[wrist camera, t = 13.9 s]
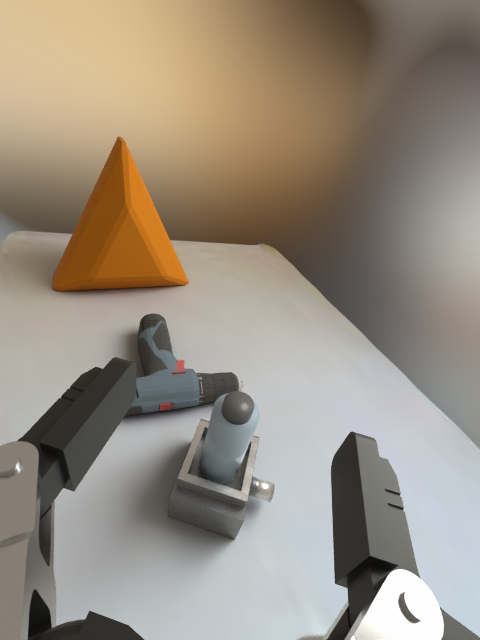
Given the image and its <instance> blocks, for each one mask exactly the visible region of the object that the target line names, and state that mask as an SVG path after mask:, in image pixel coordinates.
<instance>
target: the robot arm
mask: <svg viewBox="0 0 480 640" xmlns="http://www.w3.org/2000/svg"><path fill="white" fill-rule="evenodd" d="M135 395H136V364H135V363H133V362H129V361H126V360H123V359H120V358H117V357H115V358H113V359H112V360H111V361H110V362H109V363H108V364H107V365H106V366H105V367H104V369H101V368H98V367H95V368H93V369H91V370H89V371H88V372H86V373H84V374H82V375H81V376H80V377H79V378H78V379H77V380H76V381H75V382H74V383H73V384H72V385H71V387H70V389H68V390H67V391H66V392H65V393H64V394H63V395H62V397H61V398H59V399H58V400H57V401H56V402H55V403H54V404H53V405H52V406H51V408H50V409H49V410H48V411H47V412H46V413H45V414H44V415H43V416H42V417H41V418H40V419H39V420H38V421H37V422H36V423H35V424H34V425H33V427H32V428H31V429H30V430H29V431H28V432H27V433H26V434H25V435H24V436H23V437H22V438H20V439H19V440H18V441H16V442H11V443H7V444H4V445H2V446H0V640H144V639H143V638H142V637H141V636H140V635H138V634H137V633H136V632H135V631H134V630H133V629H132V628H131V627H130V626H129V625H126V624H123V623H121V622H118V621H115V620H113V619H110V618H107V617H105V616H102V615H99V614H97V613H94V612H91V611H89V613H88V615H87V617H86V620H76V621H71V622H67V623H64V624H61V625H58V626H56V586H55V578H54V567H53V559H54V506H55V501H54V500H55V499H56V497H57V496H58V494H59V493H60V491H61V490H62V489H63V488H66V489H69V490H72V491H75V489H76V488H77V486H78V485H79V483H80V482H81V480H82V479H83V477H84V476H85V474H86V473H87V471H88V470H89V468H90V467H91V465H92V464H93V462H94V461H95V459H96V458H97V456H98V455H99V453H100V452H101V450H102V449H103V447H104V446H105V444H106V443H107V441H108V440H109V438H110V437H111V435H112V434H113V432H114V431H115V429H116V428H117V426H118V425H119V423H120V422H121V420H122V419H123V417H124V416H125V414H126V413H127V411H128V410H129V408H130V407H131V405H132V403H133V401H134V398H135ZM331 485H332V513H333V542H334V570H335V584H337V585H340V586H343V587H346V588H348V602H347V603H346V604H345V605H344V607H343V609H342V610H341V612H340V613H339V615H338V616H337V618H336V619H335V621H334V623H333V624H332V626H331V627H330V629H329V630H328V632H327V633H326V635H325V636H324V638H323V640H480V637H478V636H477V635H476V634H474V633H473V632H471V631H470V630H469V629H467V628H466V627H465V626H463V625H462V624H461V623H459V622H458V621H457V620H455V619H454V618H452V617H451V616H450V615H448V614H447V613H446V612H445V611H444V610H443V609H441V608H440V607H439V605H438V603H437V601H436V599H435V597H434V596H433V594H432V592H431V591H430V590H429V588H428V587H427V586H426V585H425V584H424V582H423V581H422V580H421V578H420V576H419V573H418V569H417V566H416V561H415V557H414V552H413V548H412V543H411V539H410V534H409V529H408V525H407V520H406V516H405V512H404V511H403V508H404V507H403V502H402V498H401V497H400V494H401V493H400V489H399V484H398V480H397V476H396V474H395V472H394V471H393V469H392V467H391V465H390V463H389V462H388V460H387V459H384V458H381V457H379V453H378V447H377V443H376V440H375V439H374V438H371V437H368V436H365V435H361V434H358V433H355V432H350V433H349V435H348V436H347V438H346V439H345V440H344V442H343V443H342V445H341V446H340V448H339V449H338V451H337V452H336V454H335V455H334V458H333V461H332V466H331Z"/></svg>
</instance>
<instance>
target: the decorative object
mask: <svg viewBox="0 0 480 640" xmlns="http://www.w3.org/2000/svg"><path fill="white" fill-rule="evenodd" d="M188 283H189V282H188V279H187V277H186V275H185V273H184V271H183V268H182V266H181V264H180V262H179V260H178V257H177V255H176V253H175V251H174V248H173V246H172V244H171V242H170V240H169V237H168V235H167V233H166V231H165V229H164V227H163V224H162V222H161V220H160V218H159V215H158V213H157V211H156V209H155V207H154V204H153V202H152V200H151V198H150V196H149V194H148V191H147V189H146V187H145V185H144V182H143V180H142V178H141V176H140V173H139V171H138V169H137V167H136V165H135V162H134V160H133V158H132V156H131V154H130V151H129V149H128V147H127V145H126V143H125V141H124V140H123V139H122V138H121V137H118V138H117V140H116V142H115V144H114V147H113V149H112V151H111V153H110V155H109V157H108V159H107V162H106V164H105V166H104V168H103V170H102V172H101V175H100V177H99V179H98V181H97V183H96V185H95V187H94V190H93V192H92V194H91V196H90V198H89V200H88V203H87V205H86V207H85V209H84V211H83V213H82V216H81V218H80V220H79V222H78V224H77V226H76V229H75V231H74V233H73V235H72V237H71V239H70V241H69V244H68V246H67V248H66V250H65V252H64V254H63V256H62V259H61V261H60V263H59V265H58V267H57V269H56V272H55V274H54V276H53V289H54V290H57V291H73V290H93V289H114V288H135V287H155V286H176V285H186V284H188Z"/></svg>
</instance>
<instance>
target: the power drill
mask: <svg viewBox="0 0 480 640" xmlns="http://www.w3.org/2000/svg"><path fill="white" fill-rule="evenodd" d="M138 347H139V354H140V359H141V364H142V366H143V368H144V370H145V377H140V378H136V395H135V398H134V401H133V403H132V405H131V407H130V408H129V410H128V411H127V413H126V414H125V415H133V414H140V413H147V412H155V411H162V410H169V409H178V408H185V407H192V406H196V405H201V404H205V403H209V402H213V401H216V400H217V399H218V398H219V397H220V396H222V395H224V394H227V393H230V392H233V391H241V388H242V387H243V383H242V381H241V380H240V378H239V377H237V376H236V375H234V374H233V373H231V372H229V373H214V374H207V373H195V371H194V370H193V369H184V360H180V361H177V360H176V359H175V357H174V356H173V353H172V348H171V343H170V337H169V333H168V329H167V325H166V321H165V319H164V318H163V317H162V316H161V315H158V314H148V315H146V316H144V317H143V318H142V319H141V321H140V326H139V333H138Z"/></svg>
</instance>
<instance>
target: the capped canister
mask: <svg viewBox="0 0 480 640" xmlns="http://www.w3.org/2000/svg"><path fill="white" fill-rule="evenodd" d="M258 421H259V410H258V407H257V405H256V404H255V403H254V402H253V400H252V398H251V397H250V396H249V395H247V394H246V393H243V392H240V391H233V392H230V393H227V394H224V395H222V396H220V397H219V398H218V399H217V400H216V401H215V403H214V407H213V411H212V415H211V419H210V423H209V427H208V431H207V435H206V439H205V443H204V447H203V451H202V455H201V459H200V470H201V472H202V474H203V476H204V477H205V478H206V479H207V480H209V481H212V482H215V483H218V484H221V485H223V484H227V483H229V482H231V481H232V480H233V479H234V478H235V477H236V475H237V473H238V470H239V468H240V465H241V463H242V461H243V458H244V456H245V453H246V451H247V448H248V446H249V443H250V441H251V438H252V436H253V433H254V431H255V429H256V426H257V424H258Z"/></svg>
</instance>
